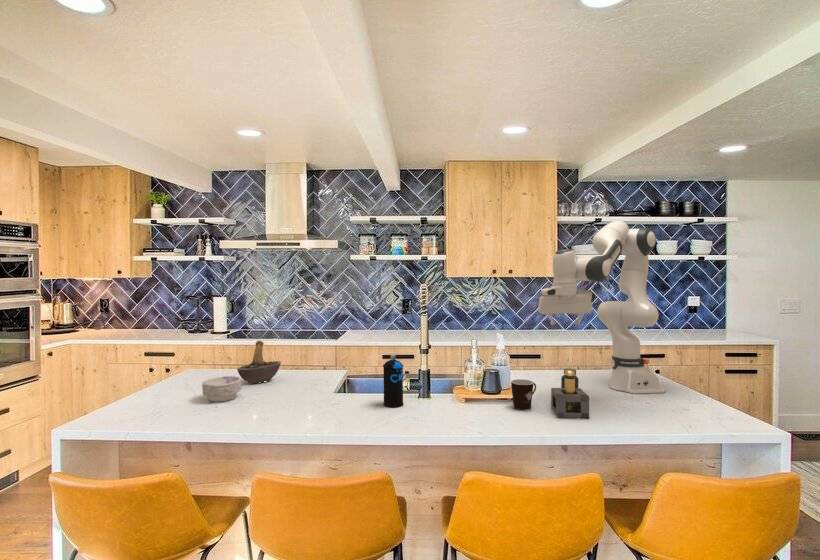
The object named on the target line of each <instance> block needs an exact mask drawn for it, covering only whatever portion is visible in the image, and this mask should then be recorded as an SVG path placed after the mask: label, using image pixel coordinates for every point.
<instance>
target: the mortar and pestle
mask: <svg viewBox="0 0 820 560" xmlns="http://www.w3.org/2000/svg"><path fill="white" fill-rule="evenodd" d="M264 343H265V342H263V341H262V340H257V341H256V342H255V349H254V354H253V357H252V362H251V363H249V364H245V365H243V366H240V367H237V369H236V370H237V373H238V375H239V377H240V378H241V380H244V382H247V383H248V384H249V383H258V384H260V383H259V382H264V381H268V380H270V381H271V380H272V378H273V377H275V376H276V375H277V373H278V371H279V369H280V366H281V364H282V363H281V361H275V360H274V361H265V360H264V357H263V346H264ZM268 382H269V381H268ZM264 383H265V382H264Z"/></svg>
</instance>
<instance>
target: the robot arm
mask: <svg viewBox="0 0 820 560" xmlns="http://www.w3.org/2000/svg"><path fill="white" fill-rule="evenodd" d="M591 242H592V247H593V249H594V250H595V252H597V253H598V254H599V256H598V255H597V256H579V255H577V254H576V253H575V250H574V249H573V248H564V249H558V250H556V251H555V252H554V254H553V258H552V274H553V281H552V285H551V286H547V287H546V288H542V289H541V291H540V294H541V296H540V297H539V300H538V309H537V310H538V312H539V314H541V315H547V317H548V319H549V321H550V325H551V326H556V320H554V319H553V315H555V314H556V315H558V314H559V315H560V314H561V315H563V314H567V315H568V314H577V316H578V317H577V319H575V320H574V325H576V326H579V325H581V320H582V318H583V316H584V314H591V313H592V311H593V304H592V298H593V294H592V293H593V292H591V291H590V290H588V289H577V287H578V286H577V281H578V282H594V283H595V282H596V283H603V282H605V280H607V279H608V278H609V276H610V274H611V273H612V272H611V271H612V268H613V267H614V265H615V264H616V262H617V260H618V259H619V257H620V256H621V255H624V256H625V257H624V260H623V263H622V265H621V271H620V276H619V281H618V289H619V291H620V292H622V294H624V295H625V296H627V297H628V298H627V299H628V300H627V301H623V300H621V301H620V300H609V301H603V302H601V303H600V304H599V305H598V307H597V310H596V311H597V312H596V313H597V317H598V319H599V320H600V322H601V323H603V324H604V325H605V327H606V328H607V329H608V331H609V333H610V337H611V340H612V355H611V369H612V370H611V375H610V380H609V384H608V387H609V388H610V389H612V390H616V391H620V392H626V393H629V394H660V393H663V394H664V393H666V388H665V387H664V386H663V385H660V380H659V377H658V376H657V375H656V373H654V372H653V371H652V370H650V369H649V368H648V367H647V366H645V365H648V364H649V363H650V362H649V360H648V359H646V358H642V357H641V341H640V339H639V338H638V336H636V335H634V334H633V333H632V332H631V331H630V330H629V327H634V328H650V327H653V326H654V325H656V324H657V323H658V320H659V311H658V309H657V307H656V306H655V305H654V304H653V303H652V302H651V301H650V300H649V298H648V295H647V281H648V275H649V269H650V268H649V266H650V265H649V264H650V263H649V262H650V261H649V255H650V254H651V252H652V250H653V249H654V248H655V246H656V243H657V237H656V233H655V232H654V231H653V230H652V229H651V228H647V227H641V228H630V227H629V225H628V224H627V223H626V222H625V221H623V220H613V221H611V222H609V223H607V224H605V225H604V226H603V227H601V228H600V229H599V230H598V231H597V232H596V233H595V234H594V236H593V237H592V241H591Z"/></svg>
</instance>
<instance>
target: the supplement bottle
mask: <svg viewBox="0 0 820 560" xmlns="http://www.w3.org/2000/svg"><path fill="white" fill-rule="evenodd" d="M565 370H574V371H575V388H580V387H579V382H580V381H579V377H578V376H577V370H576V369H574V368H563V375H562V376H561V379H560V381H561V383H560V388H565Z"/></svg>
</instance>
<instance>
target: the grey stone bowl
mask: <svg viewBox="0 0 820 560" xmlns="http://www.w3.org/2000/svg"><path fill="white" fill-rule="evenodd" d="M201 386H202V388H201V389H202V395H203V396H204V397H205V396H206V397H207V399H208V400H209V401H210V402H216V403H218V402H220V403H221V402H227V401H230V400H233V399H234V398H236V396H237V395H238V393H240V392H241V391H242V388H243V386H242V378H241V376H236V375H234V376H233V375H228V376H227V375H226V376H217V377H213V378H208V379H206V380H204V381H203V382H202V385H201Z"/></svg>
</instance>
